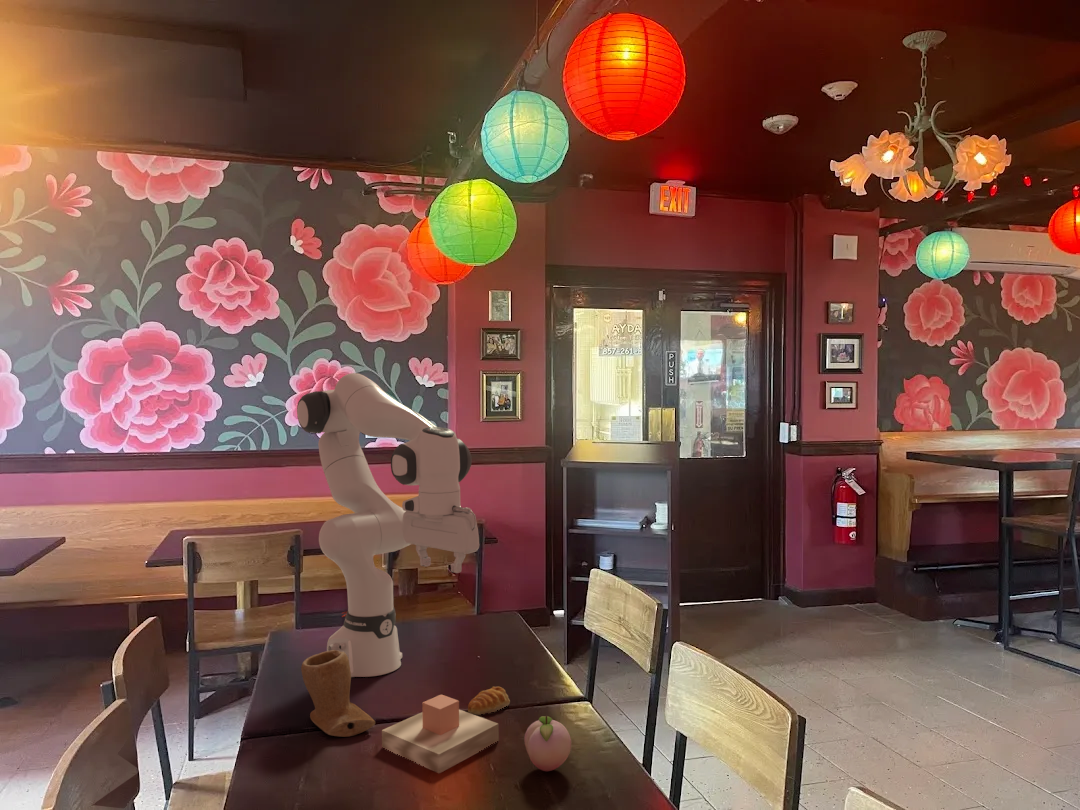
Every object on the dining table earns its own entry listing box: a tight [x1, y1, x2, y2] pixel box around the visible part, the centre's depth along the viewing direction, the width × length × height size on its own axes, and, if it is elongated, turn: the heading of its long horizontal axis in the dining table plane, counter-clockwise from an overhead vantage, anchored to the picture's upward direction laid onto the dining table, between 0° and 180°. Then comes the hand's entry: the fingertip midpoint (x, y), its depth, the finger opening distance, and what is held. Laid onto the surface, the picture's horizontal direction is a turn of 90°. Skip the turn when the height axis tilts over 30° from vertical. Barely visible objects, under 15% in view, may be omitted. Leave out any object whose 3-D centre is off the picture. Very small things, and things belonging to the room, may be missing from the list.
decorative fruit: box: [524, 715, 572, 773], centre depth 139 cm, size 9×8×10 cm
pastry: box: [467, 686, 511, 716], centre depth 167 cm, size 9×7×4 cm
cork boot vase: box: [300, 650, 376, 738], centre depth 158 cm, size 15×12×15 cm
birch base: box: [381, 708, 500, 774], centre depth 150 cm, size 16×16×4 cm
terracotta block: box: [421, 694, 460, 735], centre depth 150 cm, size 5×5×5 cm
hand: (440, 568), depth 163 cm, fingers open, 8 cm apart
